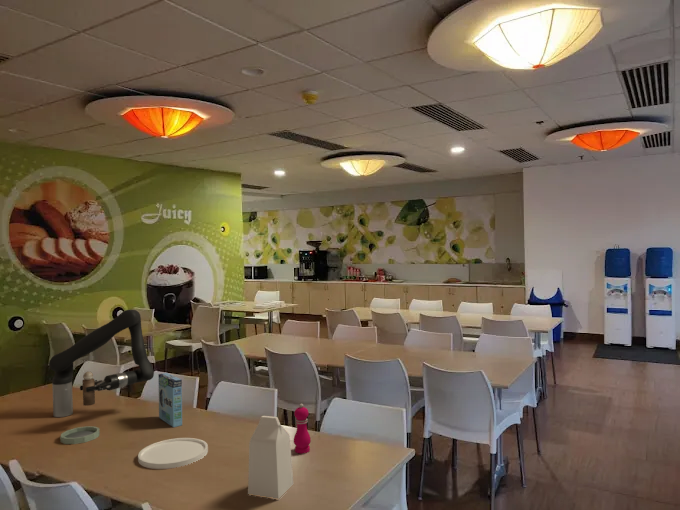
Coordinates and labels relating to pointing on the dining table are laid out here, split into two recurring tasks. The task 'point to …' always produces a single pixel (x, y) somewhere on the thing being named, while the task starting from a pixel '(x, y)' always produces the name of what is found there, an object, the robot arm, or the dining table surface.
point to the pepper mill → (302, 431)
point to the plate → (172, 453)
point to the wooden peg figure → (90, 396)
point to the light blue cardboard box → (170, 399)
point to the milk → (270, 459)
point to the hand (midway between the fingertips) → (83, 389)
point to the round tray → (79, 435)
